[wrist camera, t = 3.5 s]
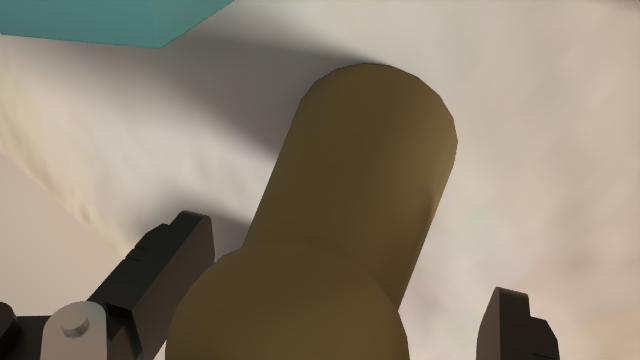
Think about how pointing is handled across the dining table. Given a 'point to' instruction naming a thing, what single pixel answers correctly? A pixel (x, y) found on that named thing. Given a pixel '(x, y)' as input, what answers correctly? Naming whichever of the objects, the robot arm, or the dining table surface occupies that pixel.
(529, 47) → the dining table surface
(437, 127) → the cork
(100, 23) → the deep teal block
